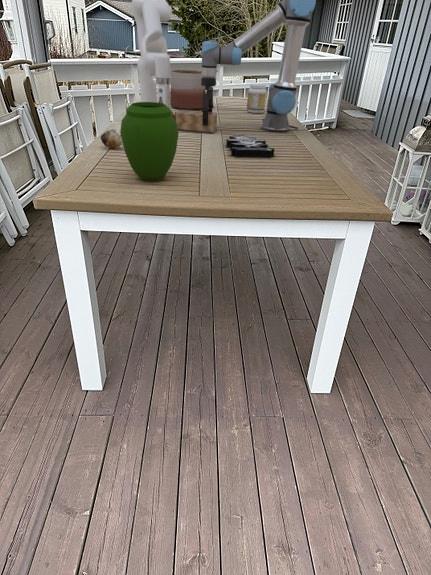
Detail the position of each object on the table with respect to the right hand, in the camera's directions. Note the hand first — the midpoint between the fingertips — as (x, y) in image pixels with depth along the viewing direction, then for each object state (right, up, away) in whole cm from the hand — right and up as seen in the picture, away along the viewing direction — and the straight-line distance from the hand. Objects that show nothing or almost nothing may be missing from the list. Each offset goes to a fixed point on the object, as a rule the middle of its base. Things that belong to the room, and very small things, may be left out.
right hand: (207, 123), depth 218 cm
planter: (-14, +37, +65) cm, 76 cm away
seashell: (-41, -26, -38) cm, 62 cm away
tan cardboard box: (-6, -3, +3) cm, 7 cm away
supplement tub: (+32, +32, +61) cm, 76 cm away
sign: (+19, -23, -28) cm, 41 cm away
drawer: (-15, -1, +4) cm, 15 cm away
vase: (-19, -48, -71) cm, 88 cm away
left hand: (-23, +3, +3) cm, 24 cm away
